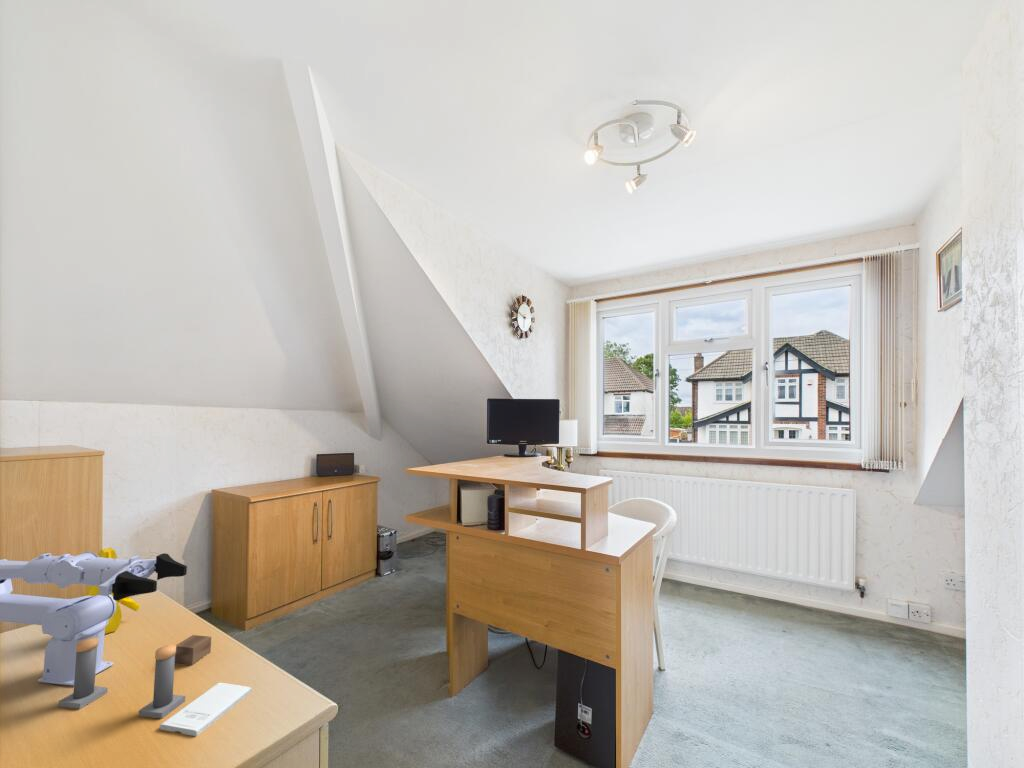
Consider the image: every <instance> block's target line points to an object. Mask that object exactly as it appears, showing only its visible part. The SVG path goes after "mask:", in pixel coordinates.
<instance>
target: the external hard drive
mask: <svg viewBox="0 0 1024 768" xmlns="http://www.w3.org/2000/svg"><path fill="white" fill-rule="evenodd" d="M250 692H251V693H252V688H251V687H250V686H246V685H245V686H244V685H239V684H234V683H233V684H232V683H226V682H218V683H216V684H214V685H213V686H212V687H210V688H209V689H207V690H206V691H205V692H204V693H202V694H201V695H200V696H198V697H197V698H195V699H193V701H191V702H190V703H188V704H187V705H186V706H184V707H183V708H182V709H180V710H178V711H177V712H176V713H174V714H173V715H172V716H171V717H169V718H168V719H166V720H164V722H162V723H161V724H159V730H161V731H166V732H172V733H181V734H182V735H187V736H193V737H198V736H199V735H200V734H201V733H203V732H204V731H205V730H206V729H208V728H209V727H210V726H212V725H213V724H214V723H215V722H216V721H217V720H219V719H220V718H221V717H223V716H224V715H225V714H226V713H227V712H229V711H230V710H231V709H232V708H234V707H235V706H236V705H237V704H239V703H240V702H241V701H242V700H243V699H245V698H246V697H247V696H249V693H250ZM251 693H250V694H251ZM238 702H239V703H238Z"/></svg>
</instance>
